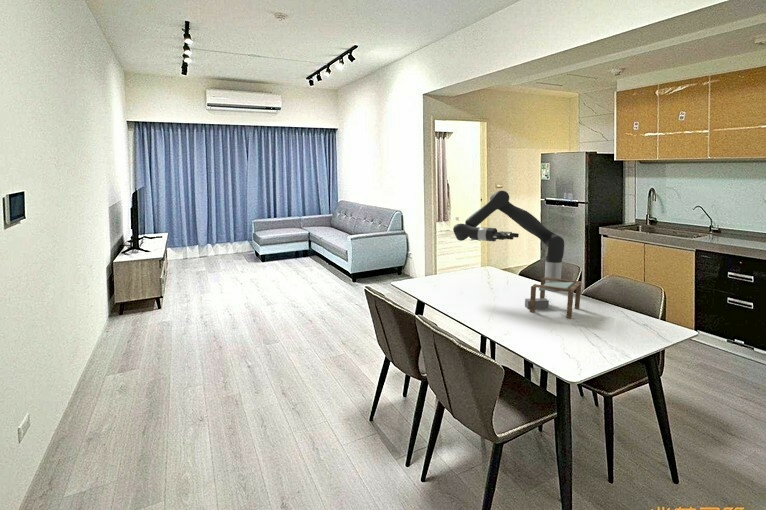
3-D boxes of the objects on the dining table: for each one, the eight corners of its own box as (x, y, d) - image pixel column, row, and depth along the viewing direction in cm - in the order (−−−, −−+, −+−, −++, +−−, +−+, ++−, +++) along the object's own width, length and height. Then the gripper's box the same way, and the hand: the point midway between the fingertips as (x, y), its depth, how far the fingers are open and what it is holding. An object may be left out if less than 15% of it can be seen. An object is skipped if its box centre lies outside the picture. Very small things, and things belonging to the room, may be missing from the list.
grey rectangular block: (545, 306, 247) (524, 306, 247) (545, 298, 246) (525, 298, 246) (548, 308, 243) (527, 309, 242) (548, 300, 242) (528, 301, 242)
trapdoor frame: (540, 302, 253) (542, 276, 251) (579, 308, 242) (581, 281, 240) (529, 312, 237) (531, 284, 234) (570, 318, 226) (572, 290, 223)
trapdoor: (546, 284, 247) (546, 282, 247) (575, 284, 239) (574, 281, 239) (539, 290, 236) (538, 288, 236) (569, 290, 227) (568, 287, 227)
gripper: (482, 229, 253) (511, 231, 244) (492, 226, 265) (520, 228, 256) (482, 242, 255) (511, 245, 246) (491, 239, 266) (519, 241, 257)
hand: (515, 236), depth 251 cm, fingers open, 8 cm apart
